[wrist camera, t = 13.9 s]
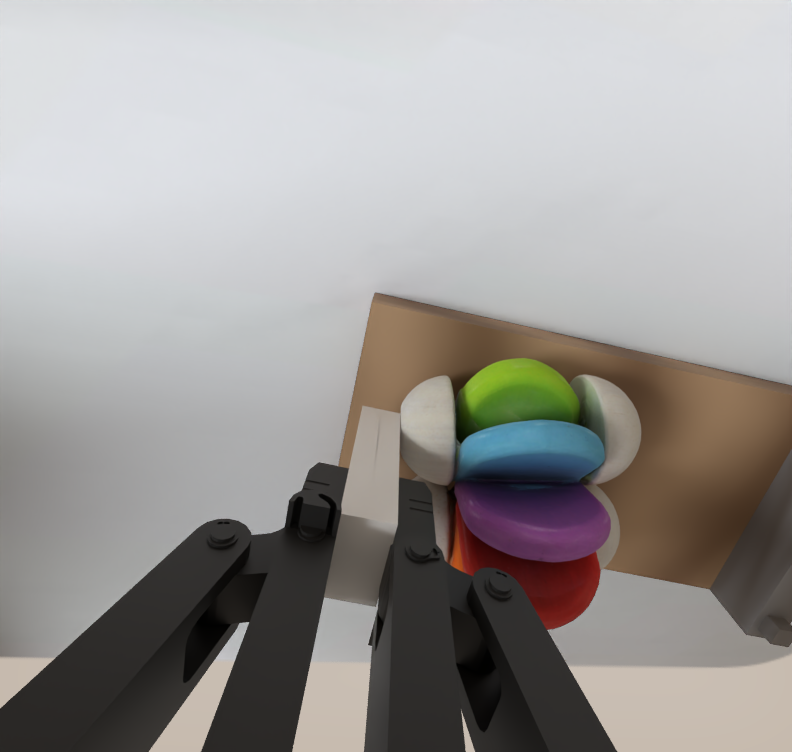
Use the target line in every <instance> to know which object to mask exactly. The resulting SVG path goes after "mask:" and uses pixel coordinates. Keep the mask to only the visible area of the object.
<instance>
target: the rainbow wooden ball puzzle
mask: <svg viewBox="0 0 792 752" xmlns="http://www.w3.org/2000/svg"><path fill="white" fill-rule="evenodd" d="M640 442H641V424H640V419H639V416H638V413H637V411H636V409H635V407H634V405H633V403H632V402H631V400H630V399H629V398H628V396H627V395H626V394H625V393H624V392H623V391H622V390H621V389H620V388H619V387H617V386H616V385H614V384H612V383H611V382H609V381H607V380H604V379H602V378H599V377H596V376H591V375H579V376H576V377H575V378H574V379H573V380H572V381H571V382H570V384H568V382H567V381H566V380H565V378H564V377H563V376H562V375H560V374H559V373H558V372H557V371H555V370H554V369H553V368H551V367H549V366H548V365H546V364H544V363H542V362H539V361H537V360H533V359H527V358H516V359H508V360H502V361H499V362H496V363H493V364H491V365H489V366H487V367H485V368H484V369H482V370H481V371H479V372H478V373H477V374H475V375H474V376H473V377H472V378H471V379H470V380H469V381H468V382H467V383H466V385H465V386H464V387H463V388H462V389H460V391H459V392H458V395H457V398H456V400H454V394H453V388H452V383H451V380H450V378H449V377H448V376H445V375H443V376H437V377H433V378H431V379H428V380H426V381H424V382H422V383H420V384H419V385H417V386H416V387H415V388H414V389H413V390H412V391H411V392H410V393H409V394H408V395H407V396H406V398H405V399H404V401H403V402H402V405H401V418H400V451H401V455H402V457H403V459H404V461H405V462H406V463H407V465H408V466H409V467H410V468H411V469H412V470H413V471H414V472H415V473H416V474H417V475H418V476H416V477H415V478H414V479H412V480H415V481H420V482H425V484H426V485H427V487H428V488H429V490H430V491H431V493H432V502H433V504H432V505H433V514H434V523H435V534H436V544H437V545H438V547H439V548H440V549H441V550H442V552H443V555H444V558H445V561H446V562H447V563H449V564H450V565H451V566H452V567H454V568H456V569H458V570H460V571H462V572H464V573H467V574H469V575H471V576H474V573H475V572H476V571H478V570H479V569H481V568H487V567H489V568H496V569H499V570H502V571H504V572H506V573H508V574H509V575H511V576H512V577H513V578H515V579H516V580H517V581H518V583H519V584H520V585H521V586H522V588H523V589H524V591H525V593H526V595H527V596H528V598H529V600H530V602H531V603H532V605H533V607H534V608H535V610H536V612H537V614H538V615H539V617H540V619H541V621H542V622H543V624H544V626H545V628H546V629H547V630H549V629H555V628H558V627H561V626H563V625H565V624H567V623H569V622H571V621H573V620H574V619H576V618H577V617H578V616H580V615H581V614H582V613H583V612H584V611H585V610H586V608H587V607H588V606H589V604H590V603H591V601H592V599H593V597H594V596H595V593H596V590H597V588H598V585H599V579H600V571H601V570H602V569H603V568H605V567H606V566H607V565H608V564H609V562H610V561H611V560H612V558H613V556H614V555H615V553H616V550H617V548H618V545H619V539H620V525H619V519H618V516H617V513H616V510H615V508H614V506H613V504H612V502H611V501H610V499H609V498H608V497H607V495H606V494H605V493H604V492H603V491H602V490H601V489H600V488H599V487H598V486H596V485H597V484H601V483H604V482H607V481H609V480H611V479H613V478H615V477H617V476H618V475H620V474H621V473H622V472H623V471H625V470H626V469H627V468H628V466H629V465H630V464H631V463H632V461H633V459H634V458H635V456H636V454H637V452H638V449H639V446H640ZM453 481H455V486H453V487H452V488H451V489H450V490H448V487H447V485H449V484H450V483H451V482H453Z"/></svg>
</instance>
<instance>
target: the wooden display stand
mask: <svg viewBox="0 0 792 752" xmlns="http://www.w3.org/2000/svg"><path fill="white" fill-rule="evenodd" d="M516 358H527V359H533V360H537V361H539V362H542V363H544V364H546V365H548V366H549V367H551V368H553V369H554V370H555V371H557V372H558V373H559V374H560V375H562V376H563V377H564V378H565V380H566V381H567V382H568V384H570V382H571V381H572V380H573V379H574V378H575V377H576V376H579V375H591V376H596V377H599V378H602V379H604V380H607V381H609V382H611V383H612V384H614V385H616V386H617V387H619V388H620V389H621V390H622V391H623V392H624V393H625V394H626V395H627V396H628V398H629V399H630V400H631V402H632V403H633V405H634V407H635V409H636V411H637V413H638V416H639V419H640V424H641V442H640V446H639V449H638V452H637V454H636V456H635V458H634V459H633V461H632V463H631V464H630V465H629V466H628V468H627V469H626V470H625V471H623V472H622V473H621V474H620V475H618V476H617V477H615V478H613V479H611V480H609V481H607V482H604V483H601V484H597V485H596V486H598V487H599V488H600V489H601V490H602V491H603V492H604V493H605V494H606V495H607V497H608V498H609V499H610V501H611V502H612V504H613V506H614V508H615V510H616V513H617V516H618V519H619V525H620V539H619V545H618V548H617V550H616V553H615V555H614V556H613V558H612V560H611V561H610V562H609V564H608V565H607V566H606V567H605V568H603V569H608V570H613V571H618V572H623V573H628V574H634V575H639V576H644V577H649V578H654V579H659V580H665V581H670V582H675V583H680V584H685V585H691V586H696V587H701V588H706V589H710V590H711V592H712V593H713V594H714V595H715V597H716V598H717V599H718V600H719V602H720V603H721V604H722V605H723V607H724V608H725V609H726V610H727V612H728V613H729V614H730V615H731V617H732V618H733V619H734V620H735V622H736V623H737V624H738V625H739V627H740V628H741V629H742V630H743V632H744V633H745V634H746V635H751V636H756V637H762V638H766V639H767V640H768V642H769V643H770V644H774V645H780V646H785V647H789V645H790V644H791V643H792V626H791V625H790V623H791V622H792V386H790V385H786V384H781V383H777V382H772V381H768V380H763V379H759V378H754V377H750V376H745V375H741V374H736V373H732V372H727V371H723V370H719V369H714V368H710V367H705V366H701V365H696V364H692V363H687V362H683V361H678V360H674V359H669V358H665V357H660V356H656V355H651V354H647V353H642V352H638V351H633V350H629V349H625V348H620V347H616V346H611V345H607V344H602V343H598V342H593V341H589V340H584V339H580V338H575V337H571V336H566V335H562V334H557V333H553V332H548V331H544V330H540V329H535V328H531V327H526V326H522V325H517V324H513V323H508V322H504V321H499V320H495V319H490V318H486V317H481V316H477V315H472V314H468V313H463V312H459V311H455V310H450V309H446V308H441V307H437V306H432V305H428V304H423V303H419V302H414V301H410V300H405V299H401V298H396V297H392V296H387V295H383V294H378V293H375V294H374V297H373V300H372V304H371V309H370V313H369V318H368V323H367V328H366V333H365V338H364V343H363V348H362V353H361V358H360V362H359V367H358V372H357V377H356V382H355V387H354V392H353V397H352V402H351V406H350V411H349V416H348V421H347V426H346V431H345V436H344V441H343V446H342V450H341V455H340V460H339V465H338V466H339V467H344V468H349V467H350V462H351V457H352V453H353V448H354V443H355V439H356V434H357V429H358V425H359V420H360V415H361V411H362V406H367V407H372V408H376V409H381V410H386V411H391V412H396V413H400V418H401V405H402V402H403V401H404V399H405V398H406V396H407V395H408V394H409V393H410V392H411V391H412V390H413V389H414V388H415V387H416V386H417V385H419V384H420V383H422V382H424V381H426V380H428V379H431V378H433V377H437V376H443V375H445V376H448V377H449V378H450V380H451V383H452V388H453V394H454V400H456V398H457V395H458V392H459V391H460V389H462V388H463V387H464V386H465V385H466V383H467V382H468V381H469V380H470V379H471V378H472V377H473V376H474V375H475V374H477V373H478V372H479V371H481V370H482V369H484V368H485V367H487V366H489V365H491V364H493V363H496V362H499V361H502V360H508V359H516ZM416 476H418V475H417V474H416V473H415V472H414V471H413V470H412V469H411V468H410V467H409V466H408V465H407V463H406V462H405V461H404V459H403V457H402V455H401V451H400V450H399V477H400V478H405V479H410V480H412V479H414V478H415V477H416ZM453 486H455V481H453V482H451V483H450V484H449V485H447V487H448V490H450V489H451V488H452V487H453Z"/></svg>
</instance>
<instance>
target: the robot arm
mask: <svg viewBox="0 0 792 752" xmlns="http://www.w3.org/2000/svg"><path fill="white" fill-rule="evenodd" d="M399 450H400V413H396V412H391V411H386V410H381V409H376V408H372V407H367V406H362V411H361V415H360V420H359V425H358V429H357V434H356V439H355V443H354V448H353V453H352V457H351V462H350V467H349V468H344V467H339V466H334V465H329V464H324V463H318V464H316V465H315V466H314V467H312V468H311V469H310V470H309V472H308V475H307V478H306V481H305V483H304V486H303V489H302V491H300V492H298V493H296V494H294V495H293V496H292V498H291V499H290V500H289V505H288V511H287V517H286V523H285V527H284V528H283V529H281V530H279V531H276V532H273V533H269V534H260V535H251V532H250V530H249V529H248V527H247V526H246V525H244V524H242V523H241V522H239V521H235V520H231V519H217V520H213V521H210V522H207V523H205V524H203V525H202V526H200V527H199V528H197V529H196V530H195V531H194V532H193V533H192V534H191V535H190V536H189V537H188V538H187V539H185V540H184V541H183V542H182V543H181V544H180V545H179V546H178V547H177V548H176V549H174V550H173V551H172V552H171V553H170V554H169V555H168V556H167V557H166V558H165V559H164V560H162V561H161V562H160V563H159V564H158V565H157V566H156V567H155V568H154V569H153V570H151V571H150V572H149V573H148V574H147V575H146V576H145V577H144V578H143V579H142V580H141V581H139V582H138V583H137V584H136V585H135V586H134V587H133V588H132V589H131V590H130V591H129V592H127V593H126V594H125V595H124V596H123V597H122V598H121V599H120V600H119V601H118V602H116V603H115V604H114V605H113V606H112V607H111V608H110V609H109V610H108V611H107V612H106V613H104V614H103V615H102V616H101V617H100V618H99V619H98V620H97V621H96V622H95V623H93V624H92V625H91V626H90V627H89V628H88V629H87V630H86V631H85V632H84V633H83V634H81V635H80V636H79V637H78V638H77V639H76V640H75V641H74V642H73V643H72V644H70V645H69V646H68V647H67V648H66V649H65V650H64V651H63V652H62V653H61V654H60V655H58V656H57V657H56V658H55V659H54V660H53V661H52V662H51V663H50V664H49V665H47V666H46V667H45V668H44V669H43V670H42V671H41V672H40V673H39V674H38V675H37V676H36V677H34V678H33V679H32V680H31V681H30V682H29V683H28V684H27V685H26V686H25V687H23V688H22V689H21V690H20V691H19V692H18V693H17V694H16V695H15V696H14V697H12V698H11V699H10V700H9V701H8V702H7V703H6V704H5V705H4V706H3V707H2V708H0V752H149V750H150V749H151V747H152V746H153V744H154V743H155V742H156V741H157V739H158V737H159V736H160V735H161V734H162V732H163V731H164V729H165V728H166V727H167V725H168V724H169V722H170V721H171V720H172V718H173V717H174V715H175V714H176V713H177V711H178V710H179V708H180V707H181V706H182V704H183V703H184V701H185V700H186V699H187V697H188V696H189V695H190V693H191V692H192V690H193V689H194V687H195V686H196V685H197V683H198V682H199V681H200V679H201V678H202V676H203V675H204V674H205V672H206V671H207V669H208V668H209V667H210V665H211V664H212V663H213V661H214V660H215V658H216V657H217V656H218V654H219V653H220V651H221V650H222V649H223V647H224V646H225V644H226V643H227V642H228V640H229V639H230V637H231V636H232V635H233V633H234V632H235V630H236V629H237V627H238V625H239V623H243V622H249V625H248V628H247V630H246V633H245V636H244V638H243V641H242V644H241V646H240V649H239V652H238V654H237V657H236V660H235V662H234V665H233V668H232V670H231V673H230V676H229V679H228V681H227V684H226V687H225V689H224V693H223V695H222V697H221V700H220V703H219V705H218V708H217V711H216V713H215V716H214V719H213V721H212V724H211V727H210V730H209V732H208V735H207V738H206V740H205V743H204V746H203V749H202V751H201V752H292V749H293V744H294V739H295V734H296V729H297V725H298V720H299V715H300V710H301V705H302V700H303V696H304V691H305V686H306V681H307V676H308V671H309V666H310V662H311V657H312V652H313V647H314V642H315V638H316V633H317V628H318V623H319V618H320V613H321V609H322V604H323V599H324V597H326V598H331V599H337V600H342V601H348V602H353V603H358V604H364V605H369V606H375V607H376V604H377V601H378V611H377V614H376V618H375V622H374V625H373V629H372V633H371V637H370V640H369V644H368V645H370V646H372V656H371V669H370V682H369V696H368V708H367V722H366V734H365V747H364V752H466V751H465V742H464V733H463V724H462V714H461V710H462V713H463V716H464V719H465V722H466V725H467V728H468V731H469V734H470V737H471V740H472V743H473V746H474V749H475V752H617V751H616V749H615V747H614V746H613V744H612V742H611V740H610V738H609V737H608V735H607V733H606V732H605V730H604V728H603V726H602V725H601V723H600V721H599V719H598V718H597V716H596V714H595V713H594V711H593V709H592V707H591V706H590V704H589V702H588V700H587V699H586V697H585V695H584V693H583V692H582V690H581V688H580V687H579V685H578V683H577V681H576V680H575V678H574V676H573V674H572V673H571V671H570V669H569V667H568V666H567V664H566V662H565V660H564V659H563V657H562V655H561V654H560V652H559V650H558V648H557V647H556V645H555V643H554V641H553V640H552V638H551V636H550V634H549V633H548V631H547V629H546V628H545V626H544V624H543V622H542V621H541V619H540V617H539V615H538V614H537V612H536V610H535V608H534V607H533V605H532V603H531V602H530V600H529V598H528V596H527V595H526V593H525V591H524V589H523V588H522V586H521V585H520V584H519V583H518V581H517V580H516V579H515V578H513V577H512V576H511V575H509V574H508V573H506V572H504V571H502V570H499V569H496V568H489V567H487V568H481V569H479V570H478V571H476V572H475V573H474V576H471V575H469V574H467V573H464V572H462V571H460V570H458V569H456V568H454V567H452V566H451V565H450V564H449V563H447V562H446V561H445V558H444V555H443V552H442V550H441V549H440V548H439V547H438V545H437V544H436V534H435V523H434V514H433V505H432V504H433V502H432V493H431V491H430V490H429V488H428V487H427V485H426V484H425V482H420V481H415V480H410V479H405V478H400V477H399ZM378 597H379V600H378Z"/></svg>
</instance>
